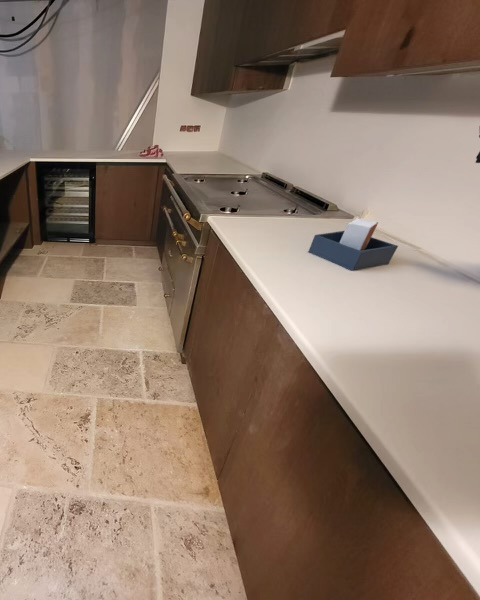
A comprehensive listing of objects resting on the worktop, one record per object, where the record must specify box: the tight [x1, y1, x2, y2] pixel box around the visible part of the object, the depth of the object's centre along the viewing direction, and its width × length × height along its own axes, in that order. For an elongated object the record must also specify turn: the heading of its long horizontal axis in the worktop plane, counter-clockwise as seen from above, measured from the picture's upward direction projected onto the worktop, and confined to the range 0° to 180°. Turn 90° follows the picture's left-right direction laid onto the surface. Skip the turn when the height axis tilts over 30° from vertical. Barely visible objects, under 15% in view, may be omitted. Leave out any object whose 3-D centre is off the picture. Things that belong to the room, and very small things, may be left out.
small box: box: [340, 217, 379, 251], centre depth 97 cm, size 8×6×10 cm
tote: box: [307, 230, 399, 272], centre depth 99 cm, size 15×15×6 cm
